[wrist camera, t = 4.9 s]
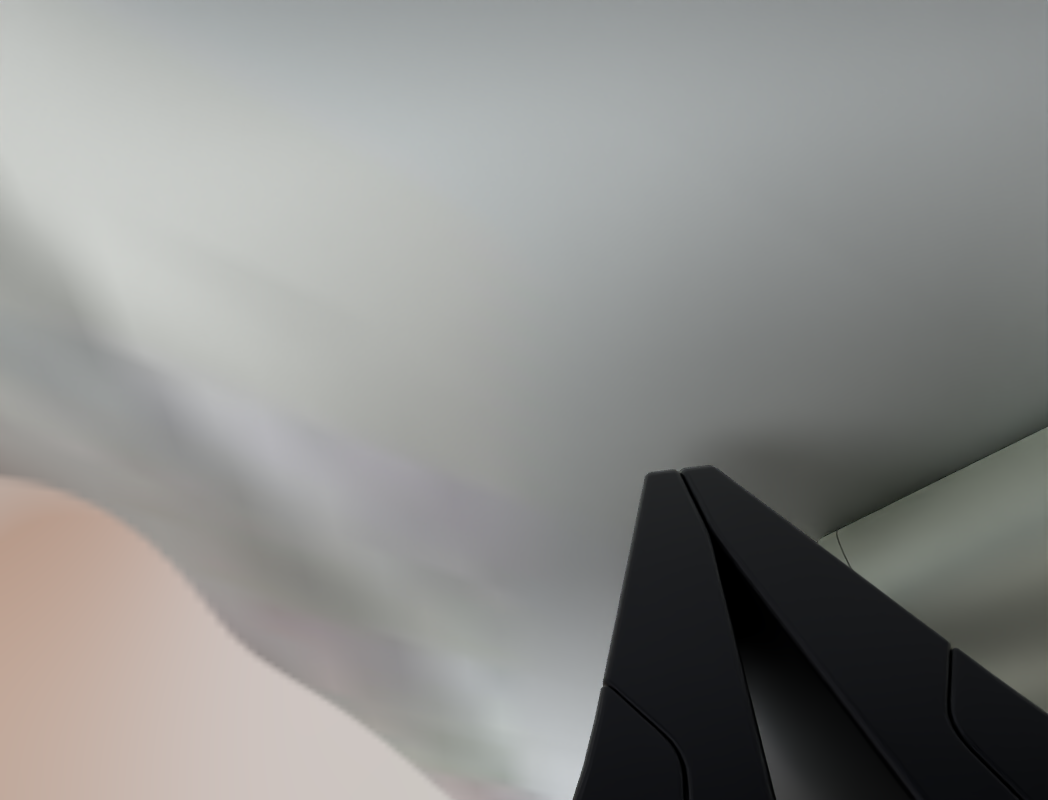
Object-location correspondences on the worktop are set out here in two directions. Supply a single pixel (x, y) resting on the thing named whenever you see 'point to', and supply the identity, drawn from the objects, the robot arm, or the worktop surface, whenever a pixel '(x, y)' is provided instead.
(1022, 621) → the pipe fitting
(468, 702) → the worktop surface
